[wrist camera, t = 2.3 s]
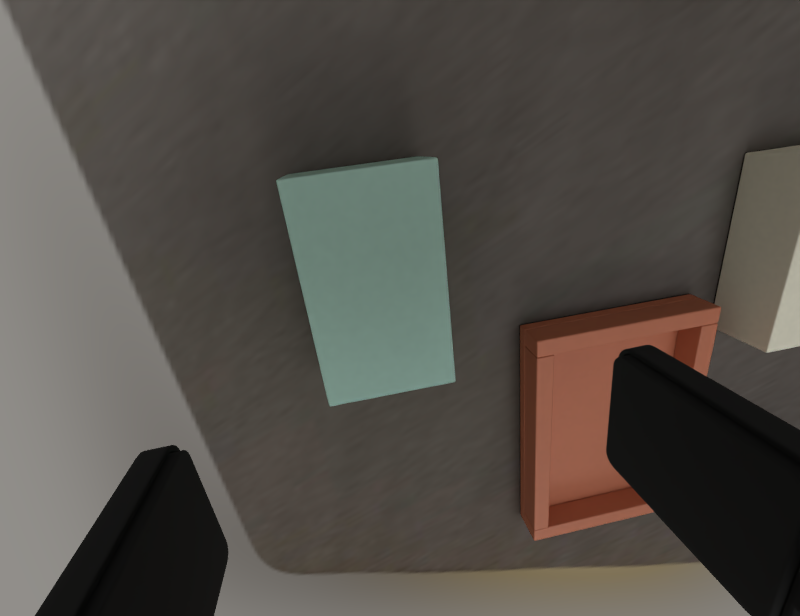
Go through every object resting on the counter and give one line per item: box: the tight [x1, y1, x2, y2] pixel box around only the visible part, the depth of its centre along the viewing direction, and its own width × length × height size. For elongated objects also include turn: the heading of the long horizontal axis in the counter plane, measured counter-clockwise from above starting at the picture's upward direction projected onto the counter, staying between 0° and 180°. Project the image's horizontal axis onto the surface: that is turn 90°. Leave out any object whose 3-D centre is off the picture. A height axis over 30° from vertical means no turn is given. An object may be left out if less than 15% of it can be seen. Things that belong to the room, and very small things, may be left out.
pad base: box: [276, 156, 455, 406], centre depth 18 cm, size 10×6×4 cm, turn 7°
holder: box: [520, 294, 721, 541], centre depth 24 cm, size 15×10×2 cm
